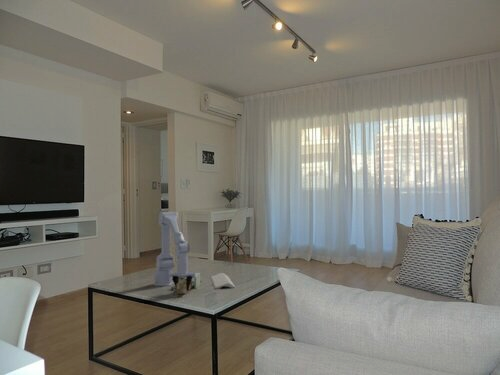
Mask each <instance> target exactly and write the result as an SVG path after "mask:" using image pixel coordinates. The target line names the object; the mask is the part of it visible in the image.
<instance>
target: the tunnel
mask: <svg viewBox="0 0 500 375" xmlns="http://www.w3.org/2000/svg"><path fill="white" fill-rule="evenodd" d="M195 273H196V277H193V278H192V279H193V281H194V285H193V287H194V289H198V287H199V286H200V285H201V282H200V281H201V272H195ZM186 278H187V277H179V282H180V281H181V280H182V279H186Z"/></svg>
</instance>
